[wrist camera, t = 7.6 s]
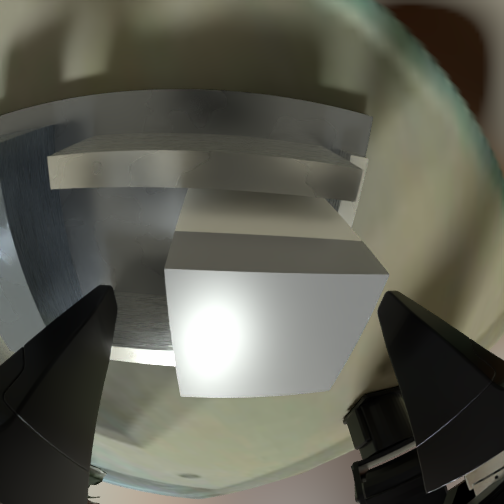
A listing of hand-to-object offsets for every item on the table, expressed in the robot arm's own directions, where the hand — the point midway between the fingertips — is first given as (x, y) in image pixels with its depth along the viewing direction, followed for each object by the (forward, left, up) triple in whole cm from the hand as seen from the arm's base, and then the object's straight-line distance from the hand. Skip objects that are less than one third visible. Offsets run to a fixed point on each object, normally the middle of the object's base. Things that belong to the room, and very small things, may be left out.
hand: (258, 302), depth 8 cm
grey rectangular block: (0, 0, -4) cm, 4 cm away
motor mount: (+4, 0, -5) cm, 7 cm away
